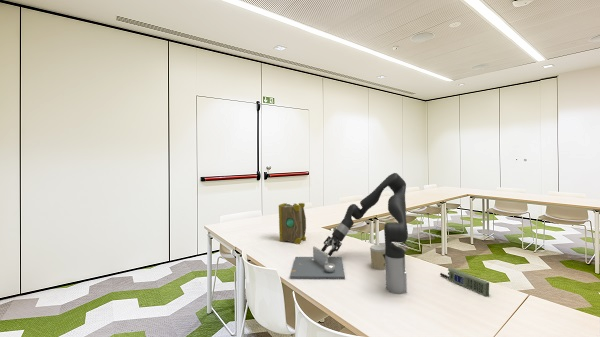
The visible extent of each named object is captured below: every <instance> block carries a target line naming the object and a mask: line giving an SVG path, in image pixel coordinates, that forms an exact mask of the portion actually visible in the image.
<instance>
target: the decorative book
mask: <svg viewBox="0 0 600 337" xmlns="http://www.w3.org/2000/svg"><path fill="white" fill-rule="evenodd" d="M305 204H306V203H304V202H299V203H298V204H297V203H293V204H290V203H289V204H288V203H285V202H284V203H281V204H279V205H278V219H279V220H278V227H279V228H278V229H279V242H290V243H294V244H295V243H298V244H297V245H301V244H302V242H303V241H306V240H307V237H306V230H307V218H306V212H305ZM301 240H303V241H301ZM300 243H301V244H300Z"/></svg>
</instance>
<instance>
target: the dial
mask: <svg viewBox="0 0 600 337" xmlns="http://www.w3.org/2000/svg"><path fill="white" fill-rule="evenodd" d="M312 257H313V259H314V260H315V261H317V262H318V263H319V264H321V265H322V266H324V268H325V271H326V272H334V271H335V264H333V263H328V257H329V255H328V253H326V252H325V251H324V252H323V251H322V250H321V249H320V248H318V247H316V246H313V247H312Z"/></svg>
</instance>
